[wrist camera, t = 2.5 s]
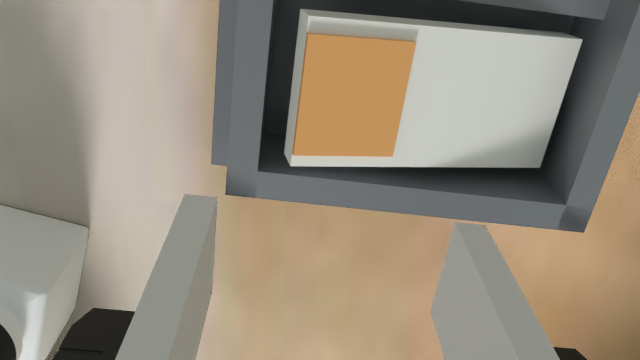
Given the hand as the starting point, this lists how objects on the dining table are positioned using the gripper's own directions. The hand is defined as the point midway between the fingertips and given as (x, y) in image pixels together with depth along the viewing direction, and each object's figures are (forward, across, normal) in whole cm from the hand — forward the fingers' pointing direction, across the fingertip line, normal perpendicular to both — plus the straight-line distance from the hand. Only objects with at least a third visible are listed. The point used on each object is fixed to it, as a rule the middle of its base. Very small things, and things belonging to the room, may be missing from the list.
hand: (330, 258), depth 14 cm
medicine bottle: (+21, +18, +16) cm, 32 cm away
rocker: (+16, -6, 0) cm, 17 cm away
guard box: (+21, -6, 0) cm, 22 cm away
